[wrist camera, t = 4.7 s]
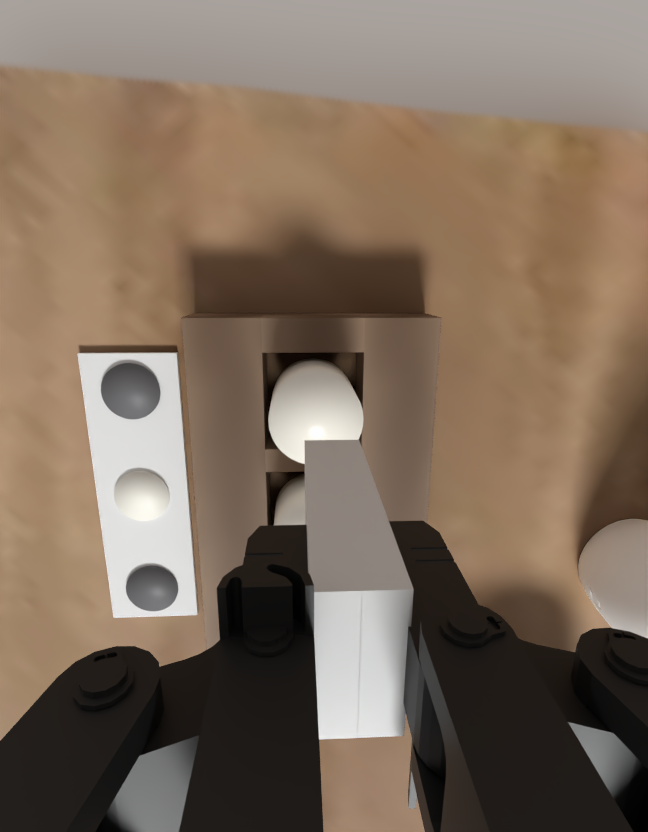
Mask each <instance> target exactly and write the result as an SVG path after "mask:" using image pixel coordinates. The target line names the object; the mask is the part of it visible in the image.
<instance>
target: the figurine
mask: <svg viewBox="0 0 648 832" xmlns="http://www.w3.org/2000/svg"><path fill="white" fill-rule="evenodd" d="M578 574H579V578H580V581H581V583H582V585H583V588H584V590H585V591H586V593H587V595H588V597H589V598H590V600H591V601H592V603H593V604H594V606H595V607H596V609H597V610H598V611H599V613H600V614H601V615H602V617H603V618H604V619H605V620H606V621H607V623H608V624H609V625H610V626H611V627H612V628H614V629H619V630H624V631H629V632H632V633H635V634H637V635H640V636H642V637H645V638H648V520H642V519H625V520H620V521H617V522H614V523H612V524H609V525H607V526H606V527H604V528H602V529H601V530H599V531H598V532H597V533H596V534H595V535H594V536H593V537H592V538H591V539H590V540H589V541H588V542H587V544H586V545H585V547H584V549H583V551H582V553H581V555H580V559H579V563H578Z"/></svg>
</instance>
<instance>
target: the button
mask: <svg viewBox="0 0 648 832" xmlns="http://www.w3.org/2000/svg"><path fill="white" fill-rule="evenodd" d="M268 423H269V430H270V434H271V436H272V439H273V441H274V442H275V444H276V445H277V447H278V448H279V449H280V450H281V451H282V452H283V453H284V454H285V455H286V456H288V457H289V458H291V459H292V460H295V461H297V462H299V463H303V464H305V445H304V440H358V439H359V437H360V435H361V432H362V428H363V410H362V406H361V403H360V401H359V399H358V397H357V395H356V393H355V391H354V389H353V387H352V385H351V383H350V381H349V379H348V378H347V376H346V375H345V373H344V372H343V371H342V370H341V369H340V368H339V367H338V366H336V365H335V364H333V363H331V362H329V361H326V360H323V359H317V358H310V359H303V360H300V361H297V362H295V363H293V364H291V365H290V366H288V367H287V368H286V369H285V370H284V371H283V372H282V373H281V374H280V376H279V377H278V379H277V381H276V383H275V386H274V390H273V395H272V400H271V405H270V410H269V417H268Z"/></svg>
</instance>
